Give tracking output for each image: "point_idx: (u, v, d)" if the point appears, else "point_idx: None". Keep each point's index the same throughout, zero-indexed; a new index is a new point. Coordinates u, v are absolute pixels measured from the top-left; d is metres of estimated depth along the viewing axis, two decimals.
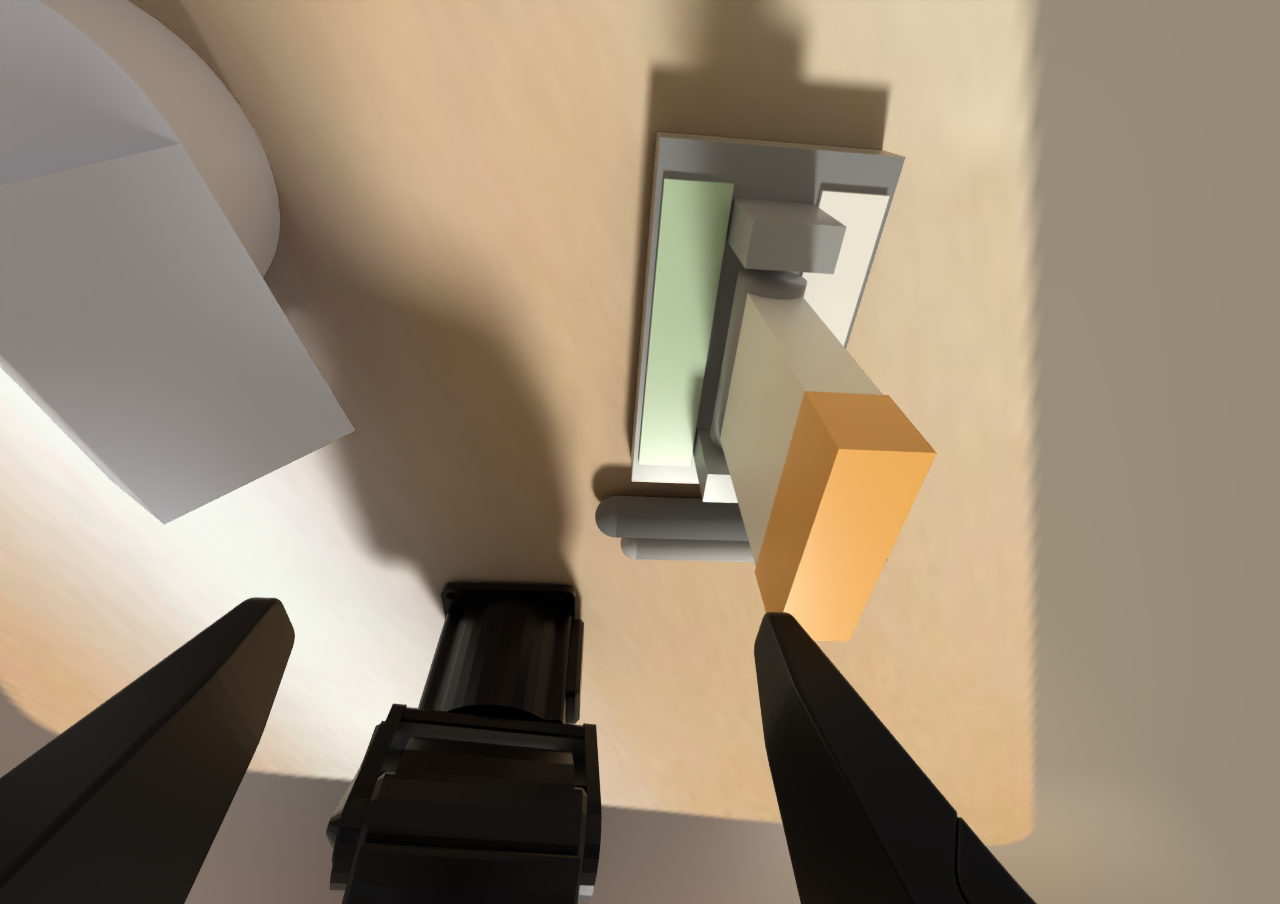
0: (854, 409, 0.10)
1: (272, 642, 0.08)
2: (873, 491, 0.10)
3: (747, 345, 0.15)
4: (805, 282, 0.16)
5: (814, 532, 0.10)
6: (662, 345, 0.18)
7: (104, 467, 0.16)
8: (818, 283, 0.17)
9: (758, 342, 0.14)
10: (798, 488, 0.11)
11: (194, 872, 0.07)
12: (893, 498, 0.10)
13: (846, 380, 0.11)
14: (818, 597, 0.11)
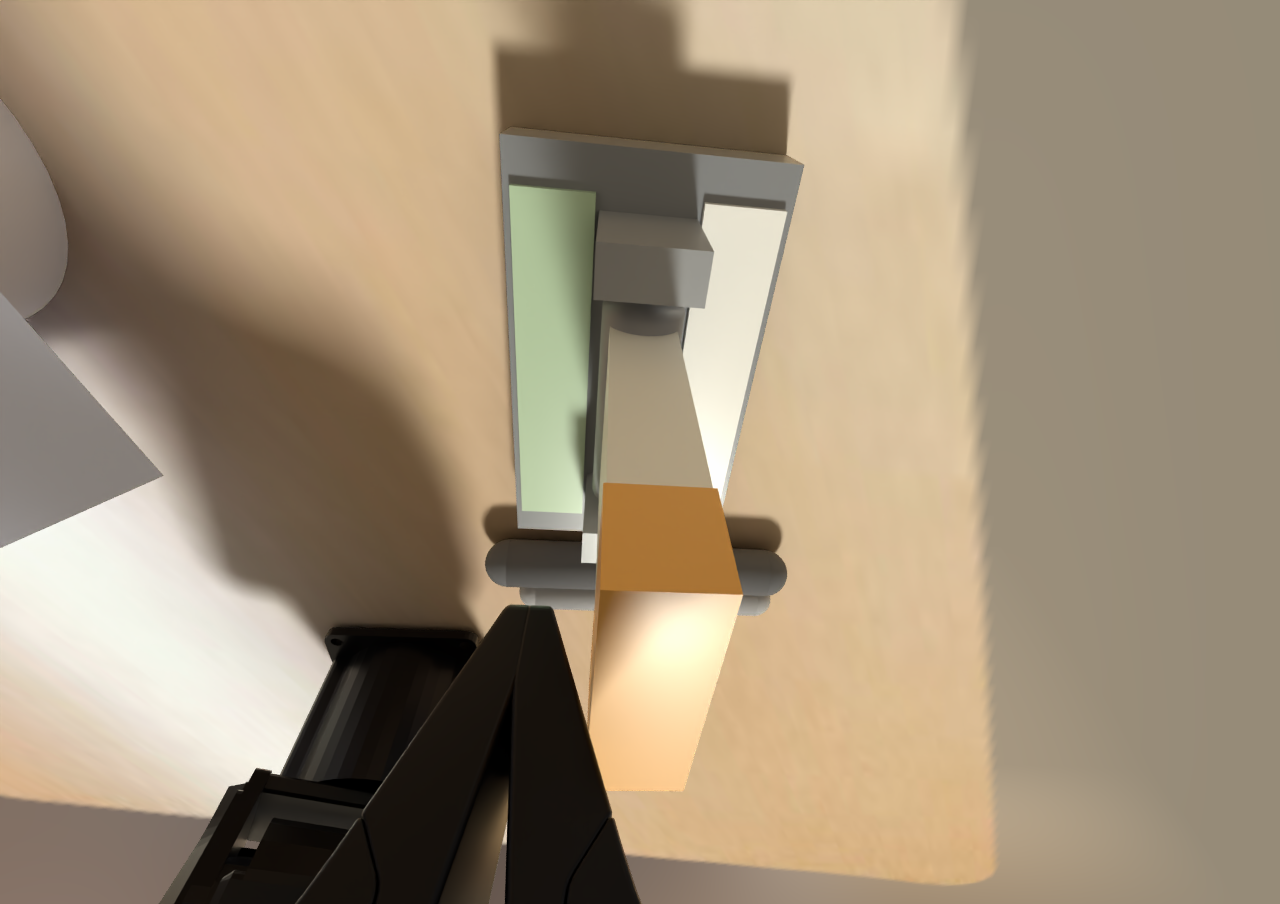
0: (662, 512, 0.08)
1: None
2: (665, 638, 0.07)
3: (606, 391, 0.13)
4: (682, 314, 0.13)
5: (598, 683, 0.07)
6: (532, 380, 0.16)
7: None
8: (710, 312, 0.15)
9: None
10: None
11: (495, 870, 0.07)
12: (696, 646, 0.07)
13: (673, 462, 0.09)
14: (628, 749, 0.09)
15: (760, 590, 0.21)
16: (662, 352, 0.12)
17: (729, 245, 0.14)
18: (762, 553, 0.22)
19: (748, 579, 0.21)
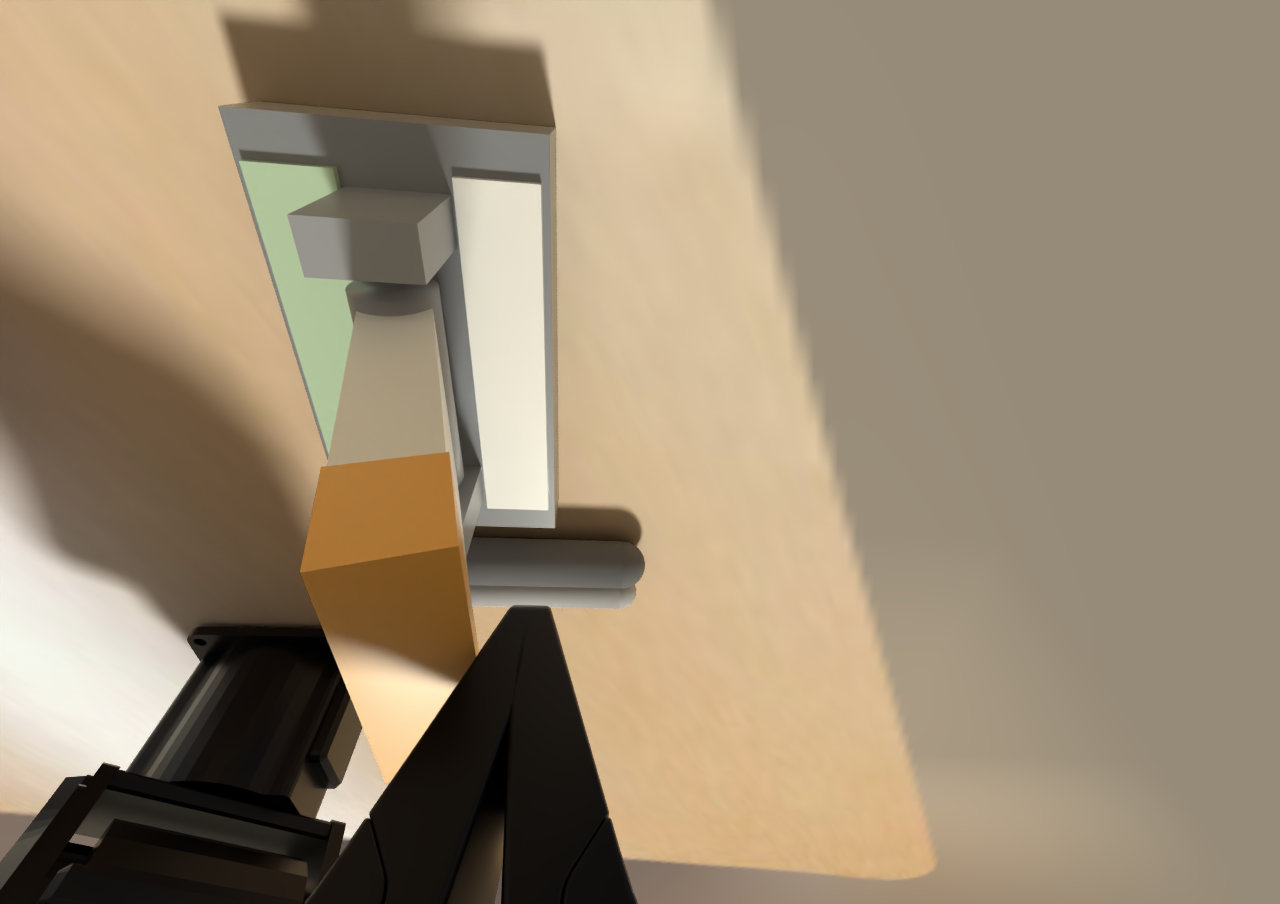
0: (385, 485, 0.08)
1: None
2: (397, 606, 0.07)
3: None
4: (435, 289, 0.13)
5: (346, 668, 0.07)
6: (317, 367, 0.15)
7: None
8: (486, 293, 0.14)
9: None
10: None
11: (500, 869, 0.07)
12: (433, 607, 0.07)
13: (406, 435, 0.09)
14: (412, 728, 0.08)
15: (613, 582, 0.21)
16: (412, 330, 0.12)
17: (488, 221, 0.13)
18: (618, 544, 0.21)
19: (599, 571, 0.20)
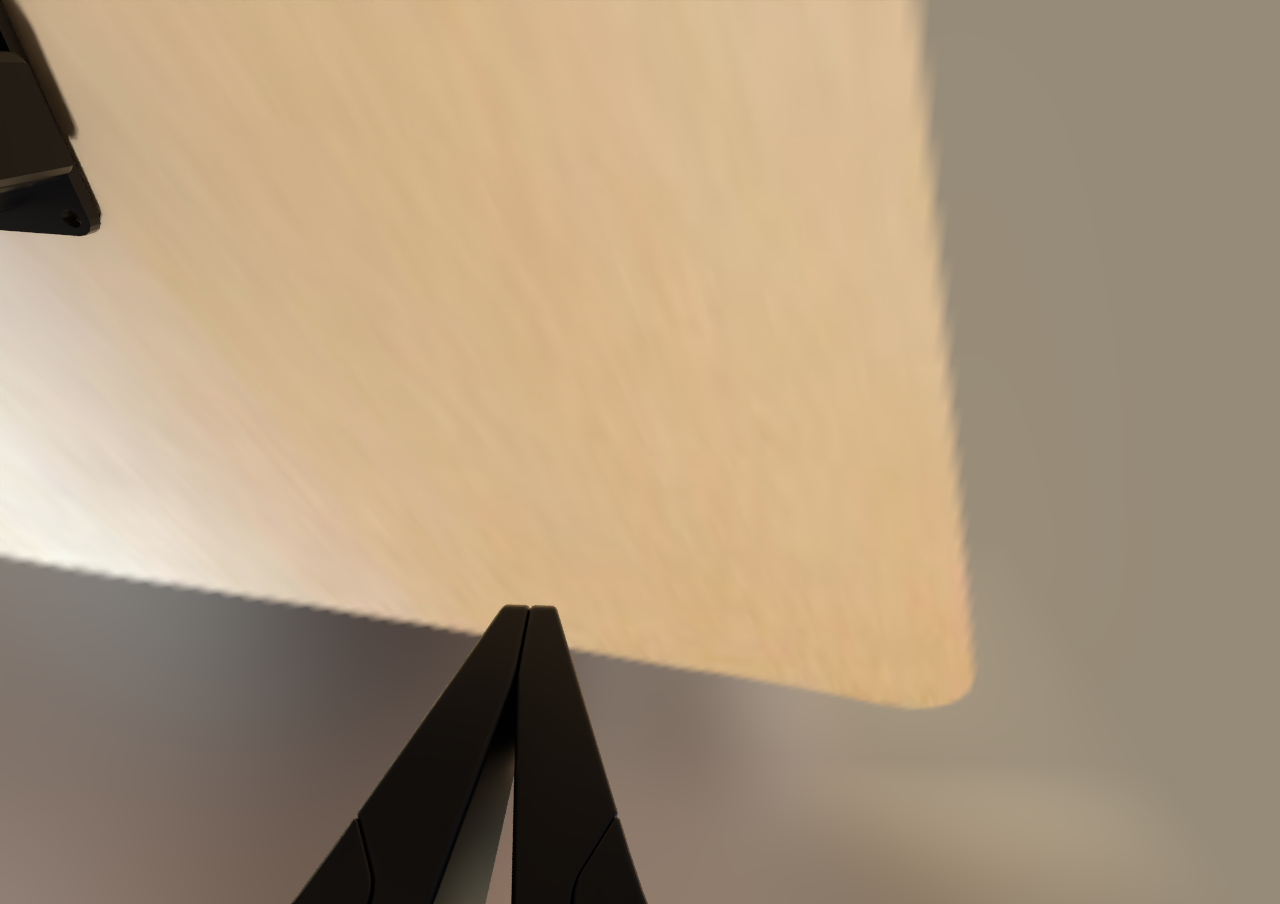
0: None
1: None
2: None
3: None
4: None
5: None
6: None
7: None
8: None
9: None
10: None
11: (491, 870, 0.07)
12: None
13: None
14: None
15: None
16: None
17: None
18: None
19: None
